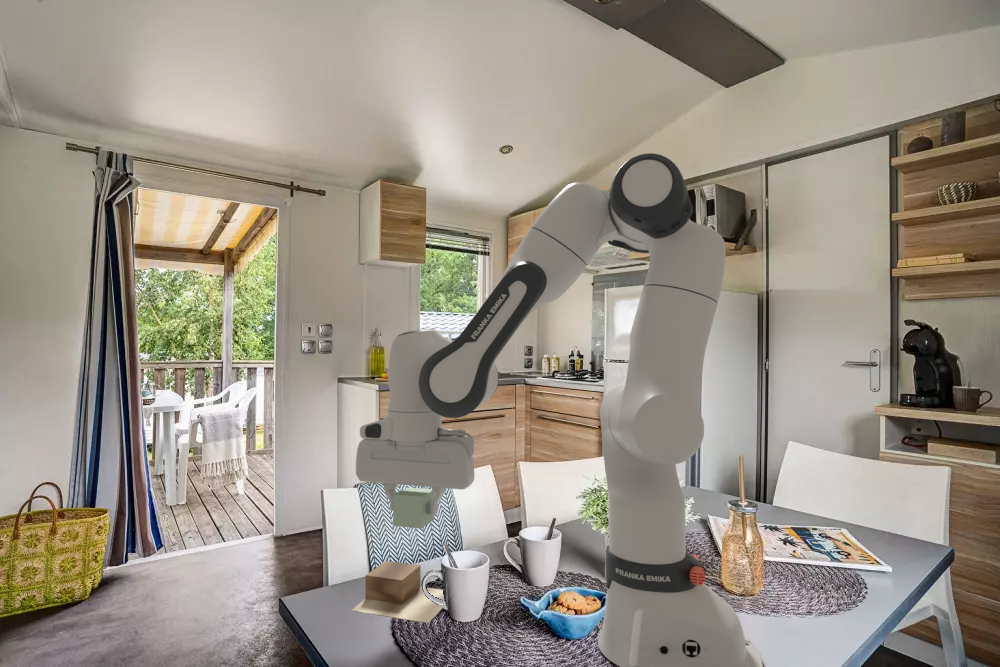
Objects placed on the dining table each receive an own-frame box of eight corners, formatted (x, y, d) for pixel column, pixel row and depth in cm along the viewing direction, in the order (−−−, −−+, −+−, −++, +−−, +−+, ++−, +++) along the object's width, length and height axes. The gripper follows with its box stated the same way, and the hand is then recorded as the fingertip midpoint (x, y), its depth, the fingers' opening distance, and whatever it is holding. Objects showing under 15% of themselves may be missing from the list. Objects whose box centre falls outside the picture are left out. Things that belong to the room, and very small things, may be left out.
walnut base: (420, 587, 100) (420, 565, 100) (401, 604, 93) (402, 580, 93) (385, 582, 102) (386, 560, 102) (365, 598, 95) (365, 575, 95)
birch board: (457, 597, 98) (457, 591, 98) (428, 629, 87) (428, 622, 87) (387, 587, 102) (387, 581, 102) (350, 616, 91) (350, 610, 91)
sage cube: (434, 519, 92) (434, 489, 93) (421, 528, 88) (421, 496, 88) (407, 517, 94) (407, 487, 94) (393, 525, 89) (393, 494, 89)
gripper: (480, 427, 91) (480, 512, 91) (371, 422, 98) (370, 502, 97) (466, 432, 85) (466, 523, 85) (351, 427, 91) (350, 511, 91)
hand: (414, 512), depth 91 cm, fingers closed on sage cube, 5 cm apart
